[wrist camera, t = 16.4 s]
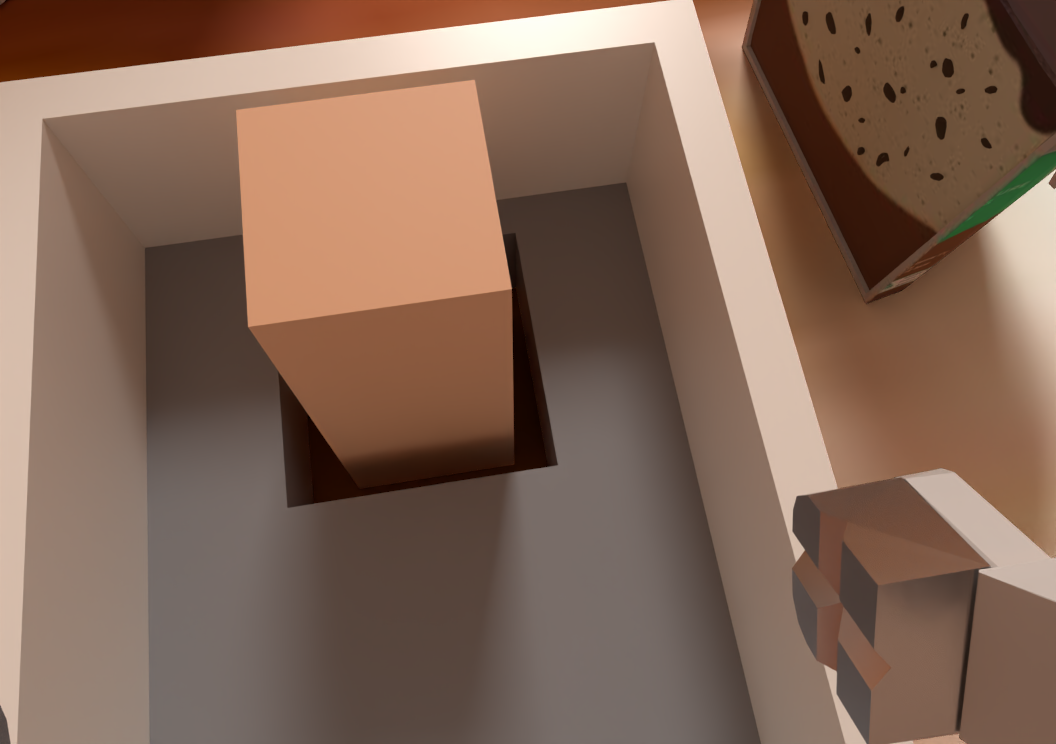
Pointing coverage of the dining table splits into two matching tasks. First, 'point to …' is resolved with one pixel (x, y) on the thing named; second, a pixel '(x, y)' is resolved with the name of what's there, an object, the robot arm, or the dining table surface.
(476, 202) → the peg
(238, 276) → the socket box
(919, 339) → the dining table surface
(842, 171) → the food container
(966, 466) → the dining table surface
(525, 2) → the dining table surface
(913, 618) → the robot arm
